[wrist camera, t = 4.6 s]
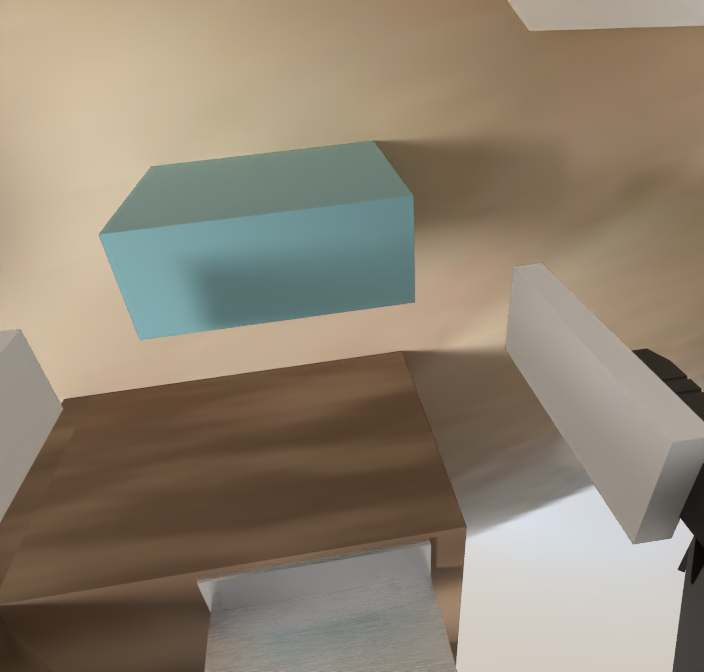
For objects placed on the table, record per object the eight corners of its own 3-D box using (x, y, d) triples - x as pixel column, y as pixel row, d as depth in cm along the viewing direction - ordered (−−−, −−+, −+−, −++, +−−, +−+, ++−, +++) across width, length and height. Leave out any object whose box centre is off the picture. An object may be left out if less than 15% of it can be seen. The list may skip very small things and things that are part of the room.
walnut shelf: (63, 399, 28) (-438, 1332, 8) (401, 351, 29) (665, 1066, 10) (146, 553, 37) (-7, 1202, 17) (406, 510, 38) (552, 1069, 18)
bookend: (198, 576, 19) (174, 755, 14) (429, 537, 20) (475, 698, 15) (214, 612, 21) (197, 785, 16) (428, 576, 21) (471, 732, 17)
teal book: (151, 166, 22) (98, 234, 16) (373, 140, 23) (413, 195, 16) (176, 249, 24) (139, 340, 18) (377, 223, 25) (414, 302, 18)
